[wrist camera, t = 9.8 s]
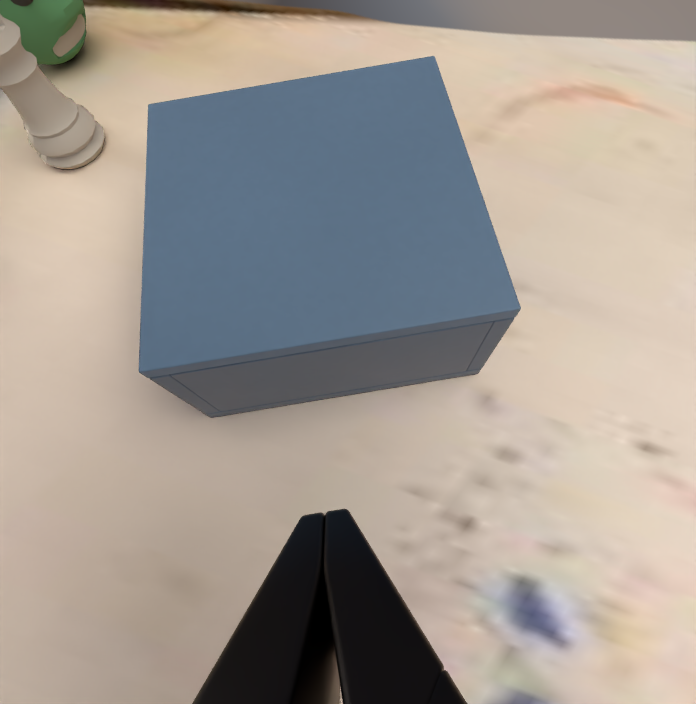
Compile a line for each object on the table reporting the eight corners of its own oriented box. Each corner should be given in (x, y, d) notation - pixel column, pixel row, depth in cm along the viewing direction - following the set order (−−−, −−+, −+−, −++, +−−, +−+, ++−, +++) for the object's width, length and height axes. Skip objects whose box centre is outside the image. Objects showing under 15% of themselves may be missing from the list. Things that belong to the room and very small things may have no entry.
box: (203, 217, 26) (154, 130, 21) (424, 180, 26) (437, 82, 21) (210, 418, 22) (148, 379, 16) (478, 374, 22) (515, 318, 16)
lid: (154, 116, 21) (147, 103, 20) (432, 69, 21) (434, 55, 20) (147, 378, 16) (137, 372, 15) (515, 317, 16) (522, 308, 15)
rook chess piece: (72, 183, 28) (-37, 61, 21) (30, 156, 29) (-88, 31, 22) (122, 139, 29) (35, 9, 22) (79, 114, 31) (-17, -17, 23)
